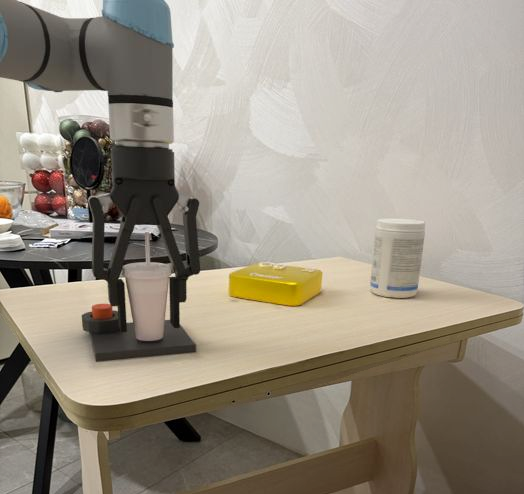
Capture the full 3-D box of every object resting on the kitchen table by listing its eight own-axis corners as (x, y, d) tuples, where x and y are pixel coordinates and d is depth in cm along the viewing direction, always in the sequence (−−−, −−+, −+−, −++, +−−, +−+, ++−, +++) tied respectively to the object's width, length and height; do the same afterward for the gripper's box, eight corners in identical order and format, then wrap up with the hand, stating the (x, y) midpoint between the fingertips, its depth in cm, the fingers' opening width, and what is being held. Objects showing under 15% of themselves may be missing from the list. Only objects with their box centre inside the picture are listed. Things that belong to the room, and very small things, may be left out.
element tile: (224, 296, 99) (225, 271, 98) (257, 281, 112) (258, 259, 111) (298, 307, 94) (299, 281, 92) (323, 291, 107) (325, 267, 105)
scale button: (93, 321, 73) (92, 309, 72) (91, 315, 75) (91, 304, 75) (114, 320, 74) (113, 308, 73) (111, 314, 76) (111, 302, 76)
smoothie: (178, 330, 74) (176, 231, 69) (166, 346, 68) (163, 238, 63) (134, 327, 75) (129, 228, 70) (118, 342, 69) (112, 235, 64)
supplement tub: (423, 293, 108) (434, 221, 103) (406, 302, 101) (417, 224, 96) (380, 285, 113) (388, 216, 108) (360, 293, 106) (368, 219, 101)
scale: (88, 363, 65) (87, 340, 64) (82, 330, 77) (80, 311, 76) (196, 352, 70) (196, 331, 69) (174, 323, 82) (174, 305, 81)
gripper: (58, 140, 56) (75, 341, 64) (228, 149, 63) (225, 329, 71) (56, 141, 63) (72, 324, 71) (211, 149, 70) (210, 314, 78)
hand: (149, 326), depth 71 cm, fingers closed on smoothie, 6 cm apart
